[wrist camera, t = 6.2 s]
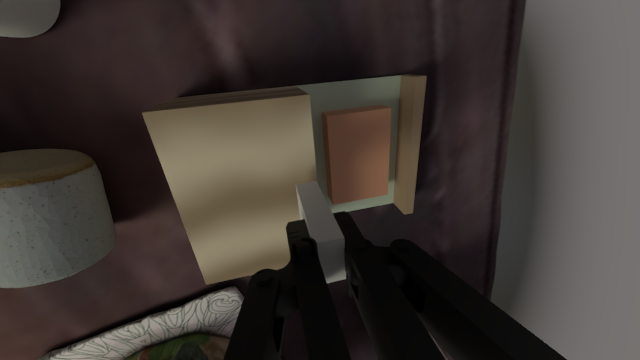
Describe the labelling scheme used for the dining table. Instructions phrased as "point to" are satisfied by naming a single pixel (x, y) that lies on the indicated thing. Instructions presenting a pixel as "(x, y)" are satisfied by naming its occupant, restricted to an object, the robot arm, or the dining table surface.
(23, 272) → the ceramic mug
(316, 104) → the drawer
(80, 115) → the dining table surface
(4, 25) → the can
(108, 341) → the cookie jar
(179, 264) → the dining table surface
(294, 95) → the beige rectangular slab
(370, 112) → the orange rectangular slab
